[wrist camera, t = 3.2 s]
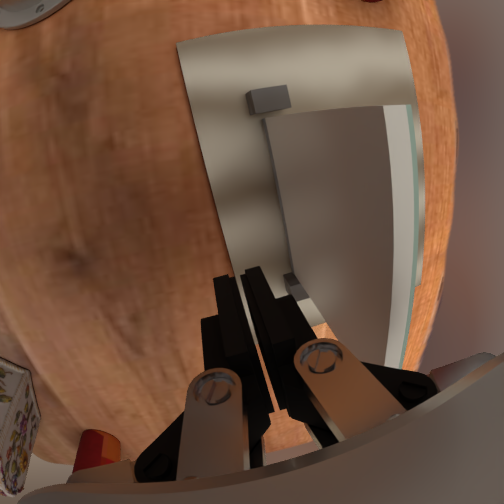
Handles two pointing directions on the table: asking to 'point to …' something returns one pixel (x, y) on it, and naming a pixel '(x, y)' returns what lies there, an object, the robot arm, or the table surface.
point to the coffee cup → (96, 450)
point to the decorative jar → (16, 426)
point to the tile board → (281, 103)
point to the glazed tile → (352, 219)
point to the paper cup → (371, 0)
